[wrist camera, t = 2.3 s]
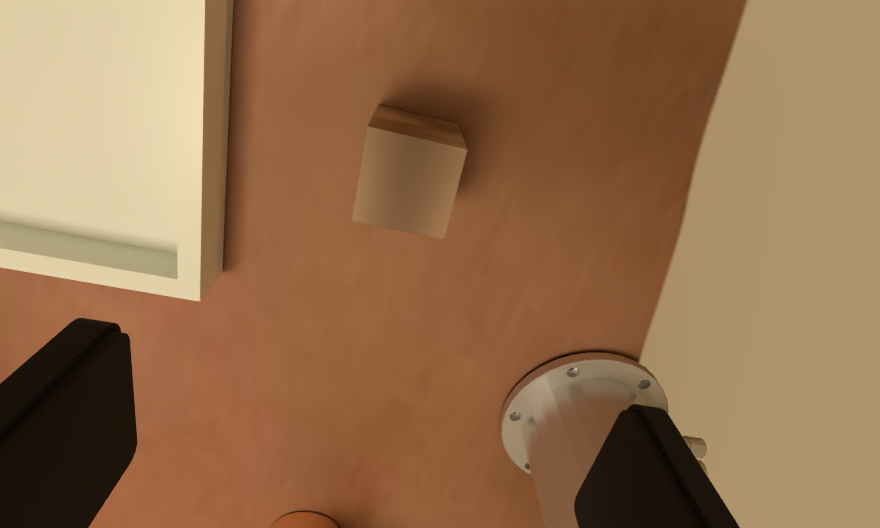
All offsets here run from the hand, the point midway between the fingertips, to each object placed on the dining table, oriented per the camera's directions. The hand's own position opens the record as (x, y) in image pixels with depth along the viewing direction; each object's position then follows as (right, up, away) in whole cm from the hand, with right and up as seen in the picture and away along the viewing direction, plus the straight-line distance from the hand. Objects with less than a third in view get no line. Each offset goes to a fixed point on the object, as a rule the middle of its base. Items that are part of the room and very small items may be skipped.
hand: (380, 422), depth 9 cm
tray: (-19, +12, +16) cm, 28 cm away
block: (-1, +9, +18) cm, 20 cm away
